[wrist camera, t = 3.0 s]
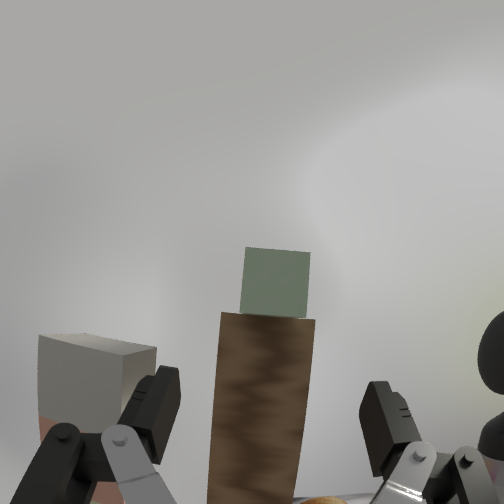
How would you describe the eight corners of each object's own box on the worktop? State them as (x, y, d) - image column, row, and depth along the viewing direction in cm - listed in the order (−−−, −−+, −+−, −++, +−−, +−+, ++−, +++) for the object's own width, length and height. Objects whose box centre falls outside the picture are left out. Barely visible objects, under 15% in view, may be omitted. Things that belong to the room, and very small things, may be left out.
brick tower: (156, 557, 23) (156, 347, 28) (137, 595, 15) (123, 355, 21) (95, 539, 23) (85, 333, 29) (69, 570, 15) (38, 334, 21)
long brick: (280, 318, 40) (283, 287, 41) (306, 317, 19) (310, 252, 20) (249, 315, 41) (252, 284, 41) (239, 312, 19) (245, 247, 20)
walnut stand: (272, 538, 30) (300, 319, 37) (274, 582, 20) (315, 319, 27) (213, 533, 30) (231, 313, 37) (203, 577, 21) (221, 312, 27)
